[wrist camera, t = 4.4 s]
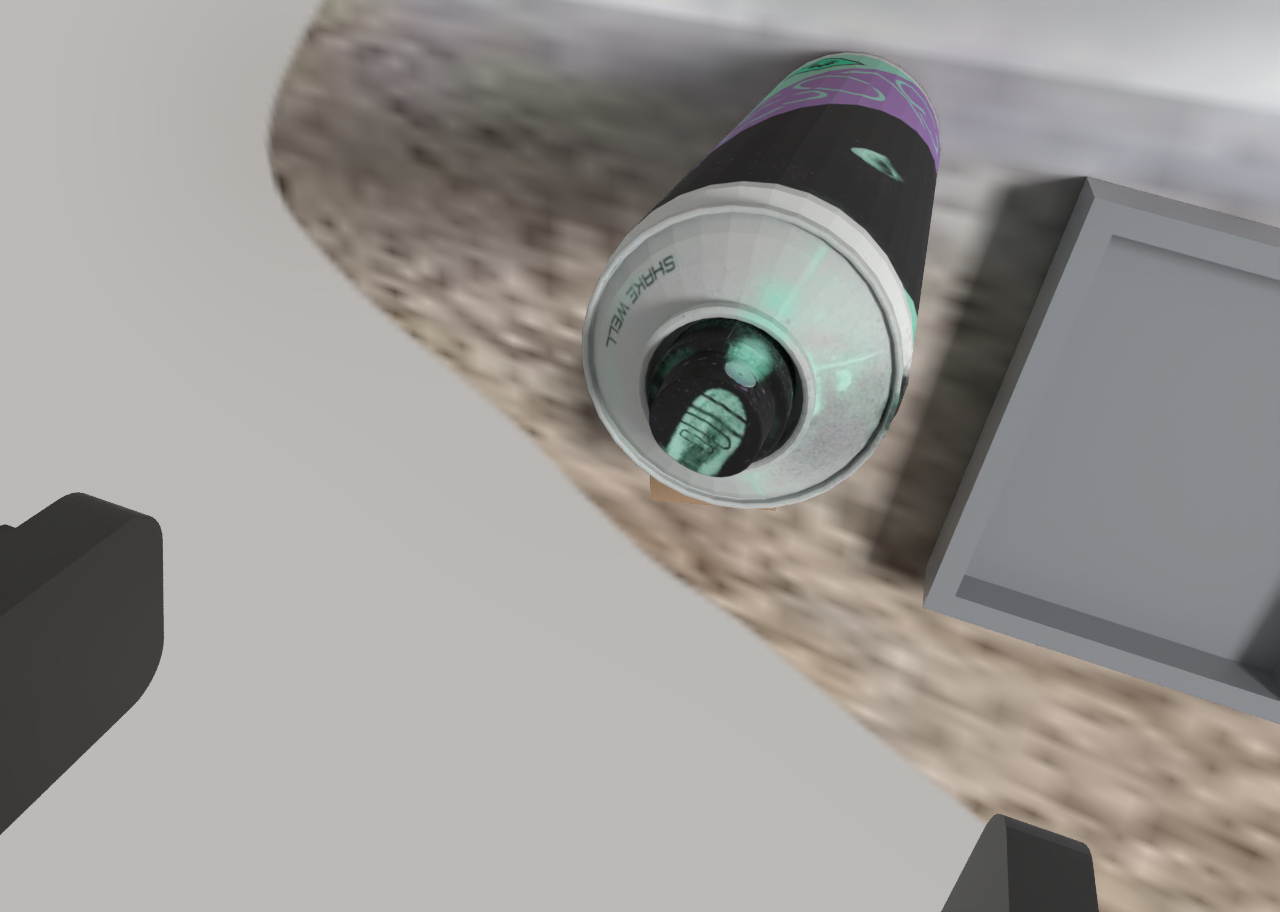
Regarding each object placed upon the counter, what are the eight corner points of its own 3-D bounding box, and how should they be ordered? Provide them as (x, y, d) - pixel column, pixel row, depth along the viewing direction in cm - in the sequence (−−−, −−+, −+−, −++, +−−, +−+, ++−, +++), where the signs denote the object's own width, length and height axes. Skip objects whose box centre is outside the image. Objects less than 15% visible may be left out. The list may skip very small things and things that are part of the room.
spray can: (947, 48, 31) (912, 247, 14) (934, 240, 34) (890, 609, 16) (754, 52, 33) (506, 238, 15) (755, 236, 35) (542, 573, 18)
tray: (1086, 176, 32) (1094, 197, 30) (1528, 295, 30) (1570, 326, 28) (925, 567, 39) (922, 607, 36) (1277, 680, 37) (1296, 729, 35)
